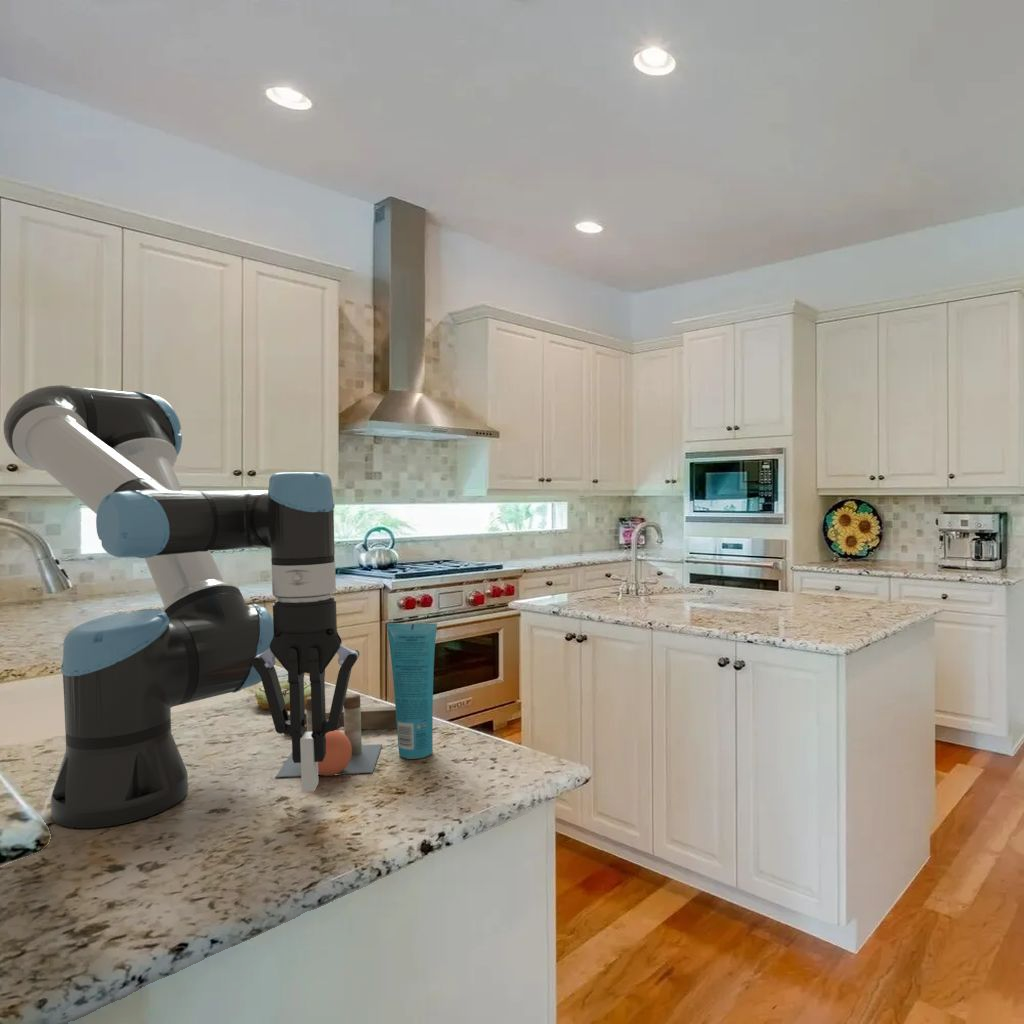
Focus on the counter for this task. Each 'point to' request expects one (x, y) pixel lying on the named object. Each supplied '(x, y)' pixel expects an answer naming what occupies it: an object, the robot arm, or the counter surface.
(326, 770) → the ball
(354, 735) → the rear pin left
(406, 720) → the tube
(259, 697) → the decorated donut
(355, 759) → the plate
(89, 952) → the counter surface
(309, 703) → the peg
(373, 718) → the back rail
